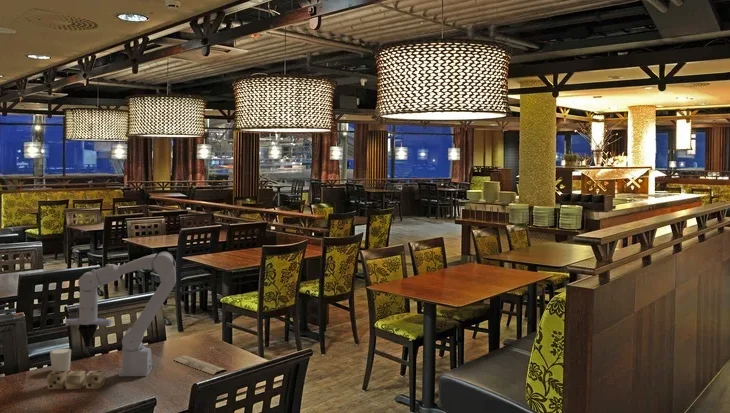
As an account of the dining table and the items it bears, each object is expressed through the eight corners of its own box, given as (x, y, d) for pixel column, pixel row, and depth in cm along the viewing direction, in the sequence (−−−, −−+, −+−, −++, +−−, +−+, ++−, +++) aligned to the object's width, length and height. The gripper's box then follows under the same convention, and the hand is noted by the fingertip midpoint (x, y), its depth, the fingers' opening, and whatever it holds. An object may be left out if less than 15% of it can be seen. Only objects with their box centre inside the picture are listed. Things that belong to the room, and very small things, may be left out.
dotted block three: (67, 384, 206) (67, 370, 206) (61, 389, 202) (61, 375, 201) (53, 384, 206) (52, 370, 206) (47, 389, 201) (47, 375, 201)
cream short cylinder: (63, 374, 215) (62, 354, 215) (45, 372, 217) (45, 352, 216) (75, 367, 222) (75, 348, 221) (59, 366, 223) (58, 347, 223)
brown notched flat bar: (227, 372, 222) (227, 368, 221) (210, 378, 216) (210, 373, 216) (187, 358, 236) (187, 354, 236) (171, 363, 231) (171, 358, 231)
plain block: (85, 384, 207) (85, 370, 206) (80, 389, 202) (80, 375, 202) (71, 384, 206) (71, 371, 206) (66, 389, 202) (65, 375, 201)
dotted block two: (104, 383, 207) (104, 370, 207) (100, 388, 203) (99, 374, 203) (90, 383, 207) (90, 370, 207) (85, 388, 202) (85, 375, 202)
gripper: (61, 309, 208) (61, 349, 209) (106, 310, 209) (106, 349, 210) (69, 304, 215) (69, 343, 216) (113, 305, 216) (112, 343, 217)
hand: (88, 346), depth 214 cm, fingers closed
